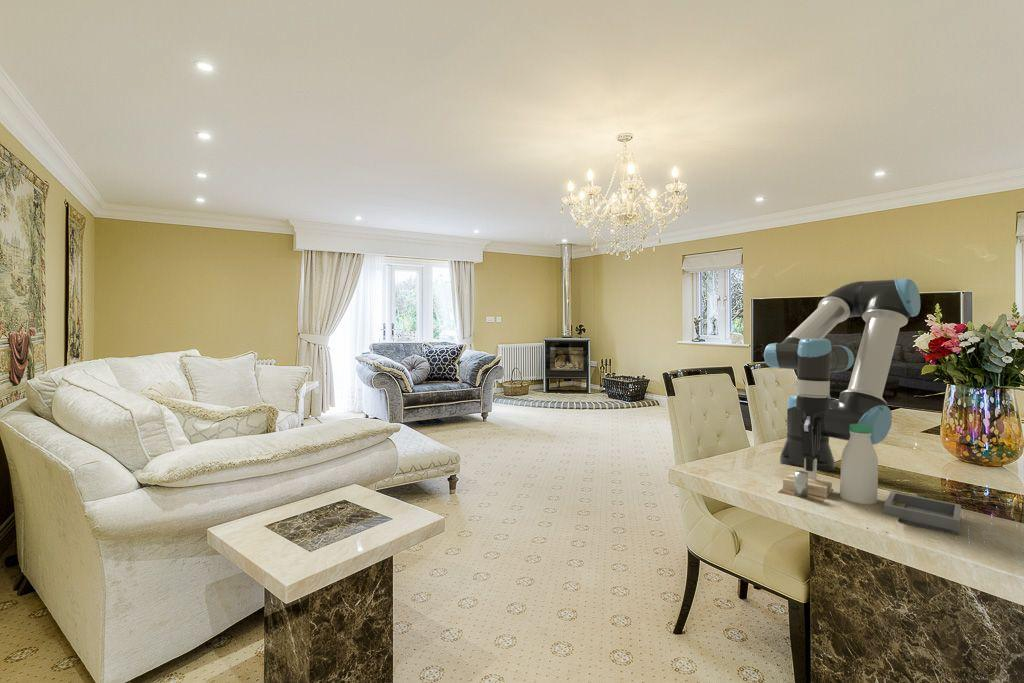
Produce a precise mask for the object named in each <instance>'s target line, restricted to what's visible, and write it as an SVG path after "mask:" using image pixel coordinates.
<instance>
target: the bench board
mask: <svg viewBox="0 0 1024 683" xmlns="http://www.w3.org/2000/svg"><path fill="white" fill-rule="evenodd" d="M834 490H835V489H834V488H832V492H833V491H834ZM778 493H779V494H783V495H788V496H792V497H797V496H795V495H794V491H793V490H788V489H784V488H783V487H782V488H781V489H780V490H779V491H777V494H778ZM797 498H798V497H797ZM799 498H800V499H801V498H802V497H799ZM802 499H803V498H802ZM804 499H806V500H808V501H809V500H810V501H813V502H814V501H815V502H818V503H819V502H820V503H823V502H824V501H825V500H826V498H825V497H820V496H816V495H811V494H808V497H806V498H804Z"/></svg>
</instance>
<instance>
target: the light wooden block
mask: <svg viewBox="0 0 1024 683" xmlns="http://www.w3.org/2000/svg"><path fill="white" fill-rule="evenodd" d="M794 476H795V474H788V475H786V476H785V477H783V479H782V488H784V489H788V490H793V491H794ZM832 486H833V483H832V482H830V481H825V480H820V479H817V478H816V479H811V478H808V494H811V495H816V496H820V497H825V499H826V498H828V497H829V496H830V494H831V493H832V492H833V491H832V489H833V488H832Z"/></svg>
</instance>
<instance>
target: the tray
mask: <svg viewBox="0 0 1024 683" xmlns="http://www.w3.org/2000/svg"><path fill="white" fill-rule="evenodd" d="M896 502H897V503H901V504H904V506H903V507H902V506H898V505H895V503H896ZM882 512H883V513H882V514H885V515H889V516H893V517H898V520H897V522H898V523H903V524H907V525H911V526H912V525H913V526H917V527H920V528H925V529H928V530H933V531H938V532H943V533H947V534H950V535H951V534H952V535H956V536H959V535H960V534H959V533H960V524H961V517H962V516H961V514H962V505H961V504H958V503H953V502H948V501H944V500H943V501H942V500H938V499H934V498H933V499H932V498H926V497H923V496H917V495H911V494H908V493H902V492H901V493H900V492H897V491H890V492H889V495H888V496H887V498H886V500H885V501H884V503H883V511H882Z"/></svg>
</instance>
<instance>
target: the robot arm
mask: <svg viewBox="0 0 1024 683" xmlns="http://www.w3.org/2000/svg"><path fill="white" fill-rule="evenodd" d="M920 310H921V296H920V291H919V288H918V285H917V284H916V282H915V281H913V280H912V279H911V278H910V279H909V278H902V279H901V278H894V279H882V280H880V279H879V280H877V279H876V280H863V281H861V280H859V281H854V282H850V283H847V284H845V285H842V286H840V287H838V288H836V289H834V290H833V291H831V292H830V293H828V294H827V295H825V296H824V297H823V298H822V299H821V300H820V301H819V303H818V304H817V308H816V309H815V310H814V311H813V312H812V313H811V314H810V315H809V316H808V317H807V318H806V319H805V320H804V321H802V322H801V323H800V325H798V326H797V327H796V328H795V329H794V330H793V331H792V332H791V333H790V334H789V335H788V336H787V337H786V338H785V339H784V340H783V341H781V342H780V343H778V342H774V343H769V344H767V345H766V346H765V348H764V352H763V359H764V363H765V364H766V366H768V367H769V368H774V369H775V368H777V369H779V370H780V369H787V370H797V378H796V380H797V381H795V382H794V385H795V386H796V393H797V394H792V395H790V396H789V397H788V399H787V407H786V410H787V411H786V441H785V442H784V445H783V447H782V450H781V453H780V455H779V463H780V464H782V465H785V466H791V467H795V468H801V469H803V471H804V472H807V473H808V478H811V479H816V480H817V477H818V476H817V471H818V472H822V473H823V472H824V473H828V472H833V471H835V470H836V461H835V458H834V455H833V452H832V450H831V446H830V438H832V439H838V440H843V441H847V442H848V441H849V438H850V433H849V432H850V430H849V426H850V424H863V425H868V426H871V427H872V432H871V434H872V435H871V436H870V439H871V443H872V445H878V444H879V443H881V442H883V441H884V440H885V439H886V437H887V436H888V434H889V433H890V430H891V427H892V422H893V421H892V418H893V414H892V411H891V409H890V408H889V407H888V406H887V404H888V403H887V401H886V400H885V399H884V397H883V394H884V390H885V387H886V383H887V380H888V377H889V376H888V375H889V372H890V367H891V364H892V359H893V356H894V352H895V348H896V345H897V340H898V337H899V333H900V328H902V327H904V326H906V325H907V324H908V322H909V319H910V317H911V318H913V317H917V316H918V315H919V314H920ZM854 317H861V318H862V320H863V321H864V322H865V325H864V329H863V332H862V336H861V340H860V343H859V347H858V351H857V355H856V357H855V356H854V353H853V351H852V350H851V349H850V348H848V347H847V346H845V345H844V346H843V345H841V344H840V345H839V344H837V345H836V344H832V342H831V340H829V339H828V338H825V337H826V336H827V335H828V334H829V333H830V332H831V331H832V330H833V329H834V328H835V327H836V326H837V325H838V324H839V323H843V322H844V321H846V320H847V319H849V318H854ZM852 366H853V369H852V372H851V377H850V380H849V384H848V387H847V389H845V390H843V391H841V392H840V393H839V397H838V400H837V399H832V397H831V394H830V393H831V391H830V390H831V373H841V372H844V371H848V370H849V369H851V368H852Z"/></svg>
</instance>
